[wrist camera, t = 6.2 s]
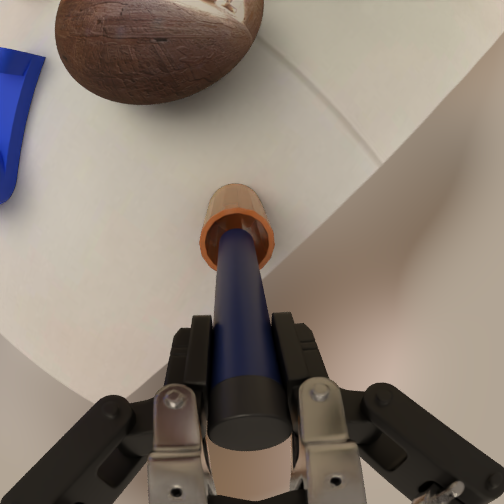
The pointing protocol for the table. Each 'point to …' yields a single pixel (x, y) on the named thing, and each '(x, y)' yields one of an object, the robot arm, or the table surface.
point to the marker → (244, 355)
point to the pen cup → (236, 222)
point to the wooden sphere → (153, 45)
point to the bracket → (14, 110)
